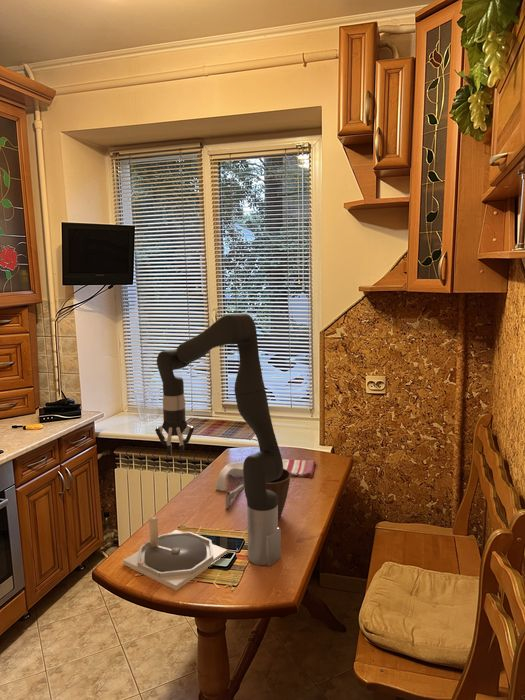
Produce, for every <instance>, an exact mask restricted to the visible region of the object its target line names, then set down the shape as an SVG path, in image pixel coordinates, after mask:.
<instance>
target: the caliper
mask: <svg viewBox="0 0 525 700" xmlns="http://www.w3.org/2000/svg"><path fill="white" fill-rule="evenodd" d="M242 490H244V484H240V485H239V486H237V488H235V489H234V490H228V491H226V495H225V508H226V509H229V508H230V507H231V503H232V500H234V498H235V496H236V495H238V494H239V493H240V492H241V491H242Z"/></svg>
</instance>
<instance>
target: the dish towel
mask: <svg viewBox="0 0 525 700" xmlns="http://www.w3.org/2000/svg"><path fill="white" fill-rule="evenodd" d="M282 462H283V469H286V470H287V471H289V472H290V477H295V476H299V478H309V477H312V478H313V474H314V471H315V470H314V469H315V466H316V461H315V460H314V459H311V460H310V459H309V460H305V459H304V460H303V459H302V460H299V459H287V458H286V459H285V458H282ZM314 465H315V466H314ZM301 476H302V477H301Z"/></svg>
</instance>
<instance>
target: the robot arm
mask: <svg viewBox="0 0 525 700" xmlns="http://www.w3.org/2000/svg"><path fill="white" fill-rule="evenodd" d="M226 345H233V346H234V345H235V346H237V350H238V355H239V366H238V369H237V374H236V378H235V380H234V381H235V382H234V387H233V388H234V390H233V391H234V395H235V396H234V397H235V401H236V406H237V410H238V412H239V414H240V416H241V417H242V419H243V420H244V421H245V422H246V424H247V425H248V427H250V428H251V430H252V431H253V432H254V435H255V437H256V439H257V443H258V447H259V451H258V452H256V453H252V454H250V455H247V456H246V458H245V459H244V462H243V463H244V465H243V476H244V477H243V485H244V488H243V490H244V494H245V498H246V508H247V509H246V510H247V511H246V513H247V518H246V519H247V520H246V523H247V529H246V530H247V560H249V562H251V563H252V564H254V565H258V566H268V567H270V566H272V565H273V564H274V563H275V562H276V561H278V560H279V559H280V558H281V557H282V551H281V550H282V537H281V535H282V532H281V529H282V528H280V527H279V520H278V497H277V494H276V493H275V492H273V491H271V490H267V489H266V483H269V482H271V481H274V480H276V479H278V478H280V477H281V475H282V473H283V462H282V459H283V457H282V454H281V451H280V448H279V444H278V441H277V438H276V433H275V431H274V427H273V426H274V425H273V422H272V418H271V412H270V408H269V401H268V395H267V391H266V386H265V383H264V378H263V373H262V372H263V371H262V367H261V361H260V355H259V342H258V333H257V327H256V323H255V321H254V319H253V317H252V316H251V315H250V314H248V313H242V312H240V313H239V312H238V313H227V314H223V316H221V317H220V318H218V319H217V320H216V321H214V322H213V323H212V324H211V325H210V326H209V327H208V328H206V329H205V330H203V331H202V332H201V333H199V334H197V335H195V336H194V337H191V338H189V339H188V340H185V341H183V342H182V343H180V344H179V345H178V346H177V348H173V349H172V348H170V349H167V350H162V351H160V352H159V353H158V355H157V358H156V366H157V370H158V372H159V375H160V378H161V382H162V394H163V396H162V411H163V412H162V413H163V414H162V417H163V423H162V425H160V426H156V427H155V430H154V431H155V434H156V435H157V437H158V439H159V441H160V442H161V444H162V445H166V452H167V453H166V454H167V455H168V456H172V455H173V454H172V453H173V451H172V449H173V448H172V447H173V446H172V443H171V442H172V439H173V438H172V437H175V436H176V437H177V438H178V441H179V456H183V454H184V452H185V444H189V442H190V441H191V437H192V435H193V432H194V430H195V426H194V425H189V424H188V422H187V420H186V398H185V388H184V383H185V382H184V379H183V378H182V376H178V375H175V374H174V371H176V370H181V369H183V368H186V367H187V366H189V365H190V364H191V363H193V362H195V361H197V360H199V359H202V358H204V357H205V356H206V355H208V353H209V352H210V351H211V350H213V349H215V348H218V347H221V346H222V347H223V346H226ZM163 430H164V432H165V433H166V434H167V439H166V438H165V436H164V434H163ZM185 430H187V435H186V437H185V438H184V432H185Z"/></svg>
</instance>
